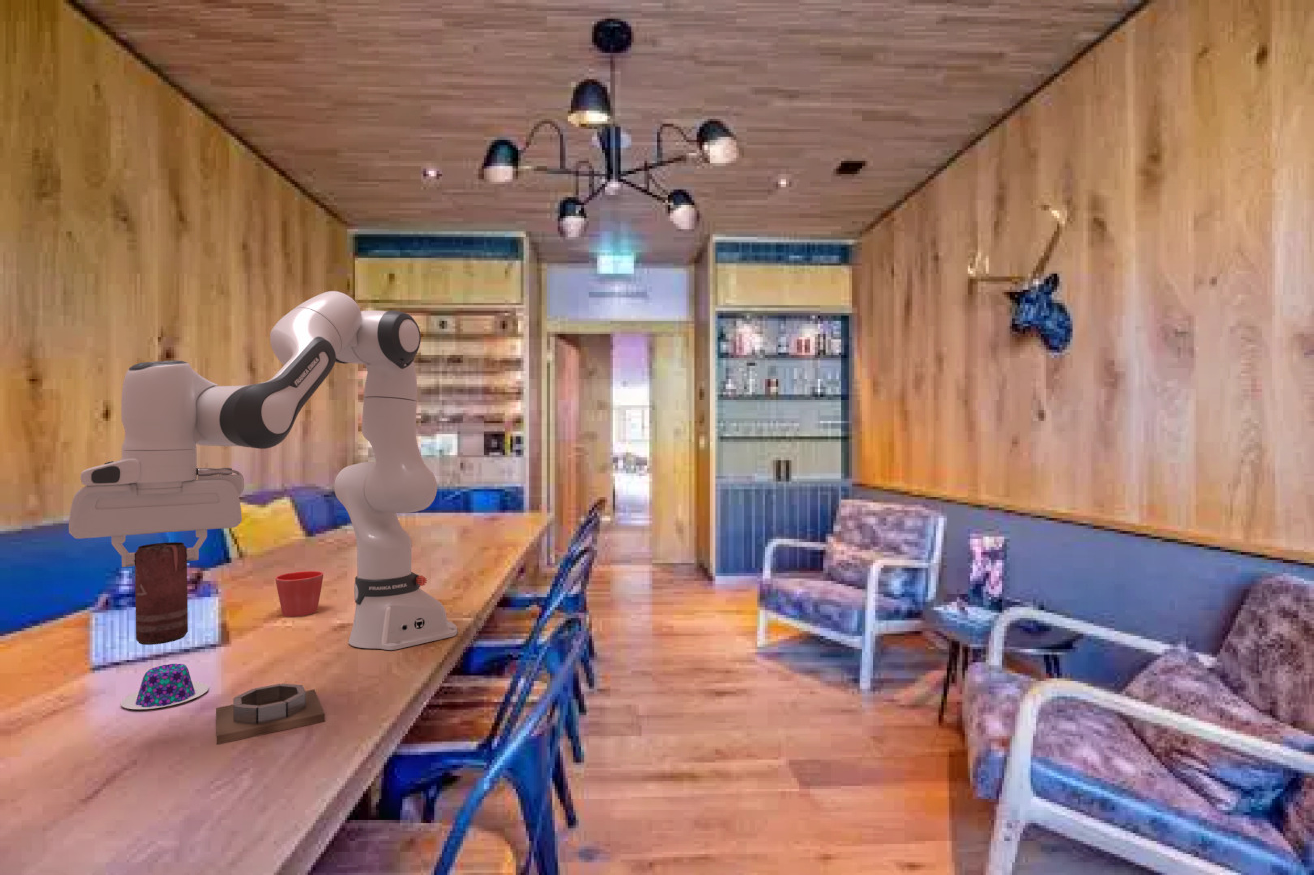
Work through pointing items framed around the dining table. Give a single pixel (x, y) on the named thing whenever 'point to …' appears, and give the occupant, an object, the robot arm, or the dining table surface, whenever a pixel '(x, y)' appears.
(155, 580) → the can
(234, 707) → the ring
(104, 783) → the dining table surface
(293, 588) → the flower pot
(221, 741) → the holder board
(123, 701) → the patterned hat
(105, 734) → the dining table surface
